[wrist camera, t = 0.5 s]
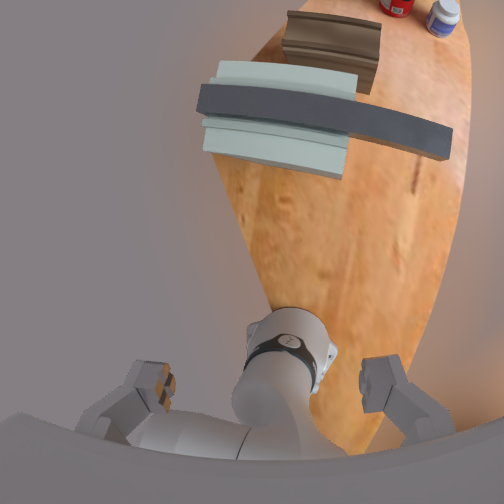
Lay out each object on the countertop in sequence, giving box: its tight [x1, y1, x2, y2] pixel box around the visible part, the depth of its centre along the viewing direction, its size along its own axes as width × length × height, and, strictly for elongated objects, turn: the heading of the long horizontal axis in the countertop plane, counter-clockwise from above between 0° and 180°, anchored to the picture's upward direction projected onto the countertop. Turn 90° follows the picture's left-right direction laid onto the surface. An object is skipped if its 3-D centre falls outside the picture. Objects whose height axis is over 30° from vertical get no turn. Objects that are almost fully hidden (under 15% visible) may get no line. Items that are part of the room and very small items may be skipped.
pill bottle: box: [426, 0, 460, 38], centre depth 34 cm, size 5×5×10 cm
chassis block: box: [282, 11, 382, 95], centre depth 39 cm, size 7×13×16 cm, turn 80°
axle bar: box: [196, 84, 453, 161], centre depth 25 cm, size 3×23×3 cm, turn 80°
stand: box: [201, 61, 358, 180], centre depth 39 cm, size 10×14×27 cm
